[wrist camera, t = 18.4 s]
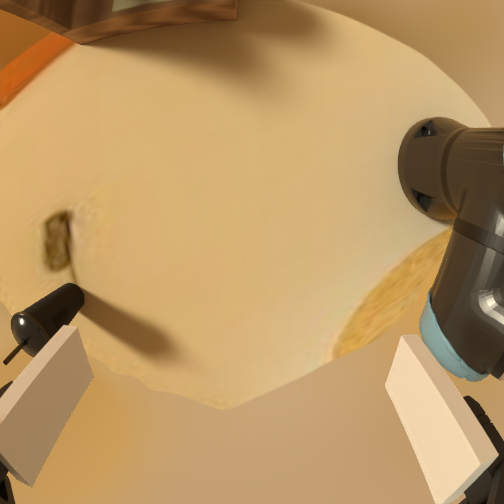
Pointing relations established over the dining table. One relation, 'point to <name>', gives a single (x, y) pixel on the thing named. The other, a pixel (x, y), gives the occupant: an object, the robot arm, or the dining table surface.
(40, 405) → the robot arm
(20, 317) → the drinking cup
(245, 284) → the dining table surface
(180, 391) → the dining table surface
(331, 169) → the dining table surface
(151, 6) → the walnut shelf
